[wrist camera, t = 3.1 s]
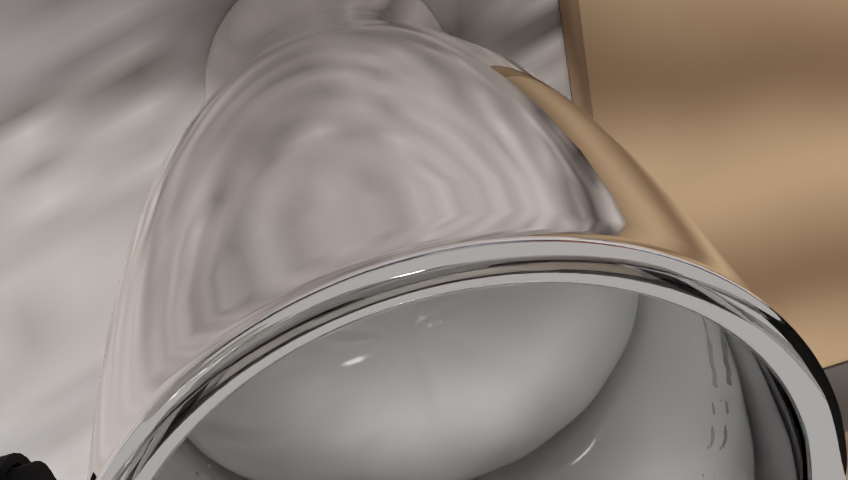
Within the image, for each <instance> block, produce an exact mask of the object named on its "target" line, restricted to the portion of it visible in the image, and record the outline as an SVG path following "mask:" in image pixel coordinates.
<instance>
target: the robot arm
mask: <svg viewBox="0 0 848 480" xmlns="http://www.w3.org/2000/svg"><path fill="white" fill-rule="evenodd" d="M0 480H56V478H55V477H54V475H53V473H52V472H51V470H50V469H49V468H48V466H47V465H46V464H45V463H43V462H42V461H34V462H30V460H29V459H28V458H27V457H25V456H24V455H22V454H21V453H12V454H8V455H5V456H1V457H0Z"/></svg>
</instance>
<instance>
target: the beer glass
mask: <svg viewBox="0 0 848 480" xmlns="http://www.w3.org/2000/svg"><path fill="white" fill-rule="evenodd" d="M205 98H206V102H205V103H204V104H203V106H202V107H201V108H200V109H199V111H198V112H197V113H196V115H195V116H194V117H193V119H192V120H191V122H190V123H189V125H188V126H187V128H186V129H185V130H184V132H183V133H182V135H181V136H180V138H179V139H178V141H177V142H176V143H175V145H174V146H173V148H172V149H171V151H170V152H169V154H168V156H167V157H166V159H165V161H164V162H163V164H162V166H161V168H160V170H159V172H158V174H157V176H156V178H155V180H154V182H153V184H152V187H151V189H150V192H149V194H148V197H147V199H146V202H145V205H144V207H143V210H142V212H141V215H140V218H139V220H138V223H137V225H136V228H135V231H134V233H133V236H132V238H131V241H130V244H129V247H128V250H127V253H126V257H125V260H124V264H123V268H122V272H121V277H120V281H119V285H118V289H117V294H116V298H115V302H114V306H113V311H112V315H111V319H110V323H109V328H108V333H107V338H106V344H105V351H104V357H103V364H102V370H101V377H100V383H99V390H98V396H97V403H96V409H95V416H94V424H93V432H92V441H91V449H90V458H89V466H88V475H87V480H847V447H846V438H845V430H844V425H843V420H842V416H841V412H840V408H839V405H838V402H837V399H836V396H835V393H834V391H833V389H832V386H831V384H830V382H829V380H828V378H827V376H826V374H825V372H824V370H823V368H822V366H821V365H820V363H819V361H818V360H817V358H816V357H815V355H814V353H813V352H812V350H811V349H810V348H809V346H808V345H807V344H806V342H805V341H804V340H803V338H802V337H801V336H800V335H799V334H798V333H797V331H796V330H795V329H794V328H793V327H792V326H791V325H790V324H789V323H788V322H787V321H786V320H785V319H784V318H783V317H782V316H781V315H780V314H779V313H778V312H776V311H775V310H774V309H773V308H772V307H771V306H769V305H768V304H767V303H765V302H764V301H763V300H762V299H760V298H759V297H758V296H757V295H756V294H755V293H754V292H753V291H752V290H751V289H750V287H749V286H748V285H747V284H746V283H745V282H744V281H743V280H742V278H741V277H740V276H739V275H738V274H737V273H736V272H735V270H734V269H733V268H732V267H731V266H730V264H729V263H728V262H727V261H726V260H725V258H724V257H723V256H722V255H721V254H720V253H719V251H718V250H717V249H716V248H715V247H714V245H713V244H712V243H711V242H710V241H709V239H708V238H707V237H706V236H705V235H704V233H703V232H702V231H701V230H700V229H699V228H698V226H697V225H696V224H695V223H694V222H693V221H692V219H691V218H690V217H689V216H688V215H687V214H686V213H685V212H684V210H683V209H682V208H681V207H680V206H679V205H678V204H677V203H676V202H675V200H674V199H673V198H672V197H671V196H670V195H669V194H668V193H667V192H666V190H665V189H664V188H663V187H662V186H661V185H660V184H659V183H658V181H657V180H656V179H655V178H654V177H653V176H652V175H651V174H650V173H649V172H648V171H647V170H646V169H645V168H644V167H643V166H642V165H641V164H640V163H639V162H638V161H637V160H636V159H635V158H634V157H633V156H632V155H631V154H630V153H629V152H628V151H627V150H626V149H625V148H624V147H623V146H622V145H620V144H619V143H618V142H617V141H616V140H615V139H614V138H613V137H612V136H611V135H610V134H609V133H608V132H607V131H606V130H605V129H604V128H603V127H602V126H601V125H599V124H598V123H597V122H596V121H595V120H594V119H593V118H592V117H591V116H590V115H588V114H587V113H586V112H585V111H584V110H582V109H581V108H580V107H579V106H577V105H576V104H574V103H573V102H572V101H570V100H569V99H568V98H566V97H565V96H563V95H562V94H561V93H559V92H558V91H557V90H555V89H554V88H552V87H551V86H550V85H548V84H547V83H546V82H544V81H543V80H541V79H540V78H539V77H537V76H536V75H534V74H533V73H532V72H530V71H528V70H527V69H525V68H524V67H522V66H520V65H519V64H517V63H515V62H514V61H512V60H510V59H508V58H506V57H504V56H502V55H499V54H497V53H495V52H492V51H490V50H488V49H485V48H483V47H481V46H478V45H476V44H473V43H471V42H469V41H466V40H464V39H461V38H459V37H456V36H453V35H451V34H447V33H444V32H443V30H442V29H441V27H440V25H439V23H438V22H437V20H436V18H435V17H434V15H433V14H432V13H431V11H430V10H429V9H428V7H427V6H426V5H425V4H424V3H423V2H422V1H421V0H238V1H237V2H236V3H235V4H234V5H233V6H232V8H231V9H230V10H229V11H228V13H227V14H226V16H225V17H224V19H223V20H222V22H221V24H220V26H219V27H218V29H217V32H216V34H215V36H214V38H213V41H212V44H211V47H210V50H209V54H208V58H207V64H206V71H205Z"/></svg>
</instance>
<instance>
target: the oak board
mask: <svg viewBox="0 0 848 480" xmlns="http://www.w3.org/2000/svg"><path fill="white" fill-rule="evenodd" d="M559 7H560V15H561V22H562V29H563V36H564V43H565V51H566V58H567V65H568V72H569V80H570V87H571V94H572V101H573V103H574V104H576V105H577V106H579V107H580V108H581V109H582V110H584V111H585V112H586V113H587V114H588V115H590V116H591V117H592V118H593V119H594V120H595V121H596V122H597V123H598V124H599V125H601V126H602V127H603V128H604V129H605V130H606V131H607V132H608V133H609V134H610V135H611V136H612V137H613V138H614V139H615V140H616V141H617V142H618V143H619V144H620V145H622V146H623V147H624V148H625V149H626V150H627V151H628V152H629V153H630V154H631V155H632V156H633V157H634V158H635V159H636V160H637V161H638V162H639V163H640V164H641V165H642V166H643V167H644V168H645V169H646V170H647V171H648V172H649V173H650V174H651V175H652V176H653V177H654V178H655V179H656V180H657V181H658V183H659V184H660V185H661V186H662V187H663V188H664V189H665V190H666V192H667V193H668V194H669V195H670V196H671V197H672V198H673V199H674V200H675V202H676V203H677V204H678V205H679V206H680V207H681V208H682V209H683V210H684V212H685V213H686V214H687V215H688V216H689V217H690V218H691V219H692V221H693V222H694V223H695V224H696V225H697V226H698V228H699V229H700V230H701V231H702V232H703V233H704V235H705V236H706V237H707V238H708V239H709V241H710V242H711V243H712V244H713V245H714V247H715V248H716V249H717V250H718V251H719V253H720V254H721V255H722V256H723V257H724V258H725V260H726V261H727V262H728V263H729V264H730V266H731V267H732V268H733V269H734V270H735V272H736V273H737V274H738V275H739V276H740V277H741V278H742V280H743V281H744V282H745V283H746V284H747V285H748V286H749V287H750V289H751V290H752V291H753V292H754V293H755V294H756V295H757V296H758V297H759V298H760V299H762V300H763V301H764V302H765V303H767V304H768V305H769V306H771V307H772V308H773V309H774V310H775V311H776V312H778V313H779V314H780V315H781V316H782V317H783V318H784V319H785V320H786V321H787V322H788V323H789V324H790V325H791V326H792V327H793V328H794V329H795V330H796V331H797V333H798V334H799V335H800V336H801V337H802V338H803V340H804V341H805V342H806V344H807V345H808V346H809V348H810V349H811V350H812V352H813V353H814V355H815V357H816V358H817V360H818V361H819V363H820V365H821V366H822V368H823V370H824V372H825V374H826V376H827V378H828V380H829V382H830V384H831V386H832V389H833V391H834V393H835V396H836V399H837V402H838V405H839V408H840V412H841V416H842V420H843V425H844V430H845V438H846V447H847V480H848V0H559Z"/></svg>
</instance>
